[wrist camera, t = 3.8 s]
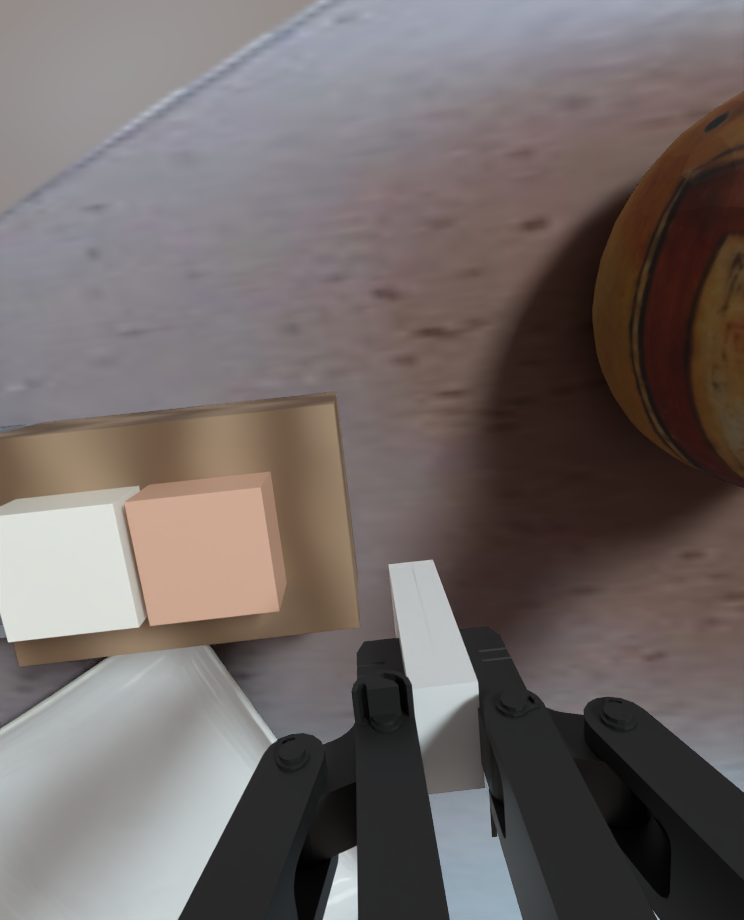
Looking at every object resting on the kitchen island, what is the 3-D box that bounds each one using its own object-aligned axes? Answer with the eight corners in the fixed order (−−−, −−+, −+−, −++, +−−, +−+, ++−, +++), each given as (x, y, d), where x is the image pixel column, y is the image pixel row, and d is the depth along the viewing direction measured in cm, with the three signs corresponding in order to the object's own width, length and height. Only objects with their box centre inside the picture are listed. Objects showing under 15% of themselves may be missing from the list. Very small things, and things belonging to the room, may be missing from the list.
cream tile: (44, 610, 27) (8, 642, 24) (16, 499, 26) (-26, 518, 23) (161, 597, 27) (139, 627, 24) (138, 485, 26) (112, 503, 23)
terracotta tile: (171, 596, 27) (150, 626, 24) (148, 484, 26) (123, 502, 23) (286, 582, 28) (279, 611, 25) (270, 471, 26) (260, 487, 23)
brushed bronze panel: (84, 603, 35) (19, 666, 28) (41, 422, 32) (-42, 443, 25) (357, 572, 35) (359, 627, 28) (336, 391, 33) (333, 403, 26)
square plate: (-123, 782, 37) (-177, 832, 33) (196, 585, 35) (178, 614, 31) (118, 1017, 43) (95, 1083, 39) (406, 858, 41) (412, 911, 37)
